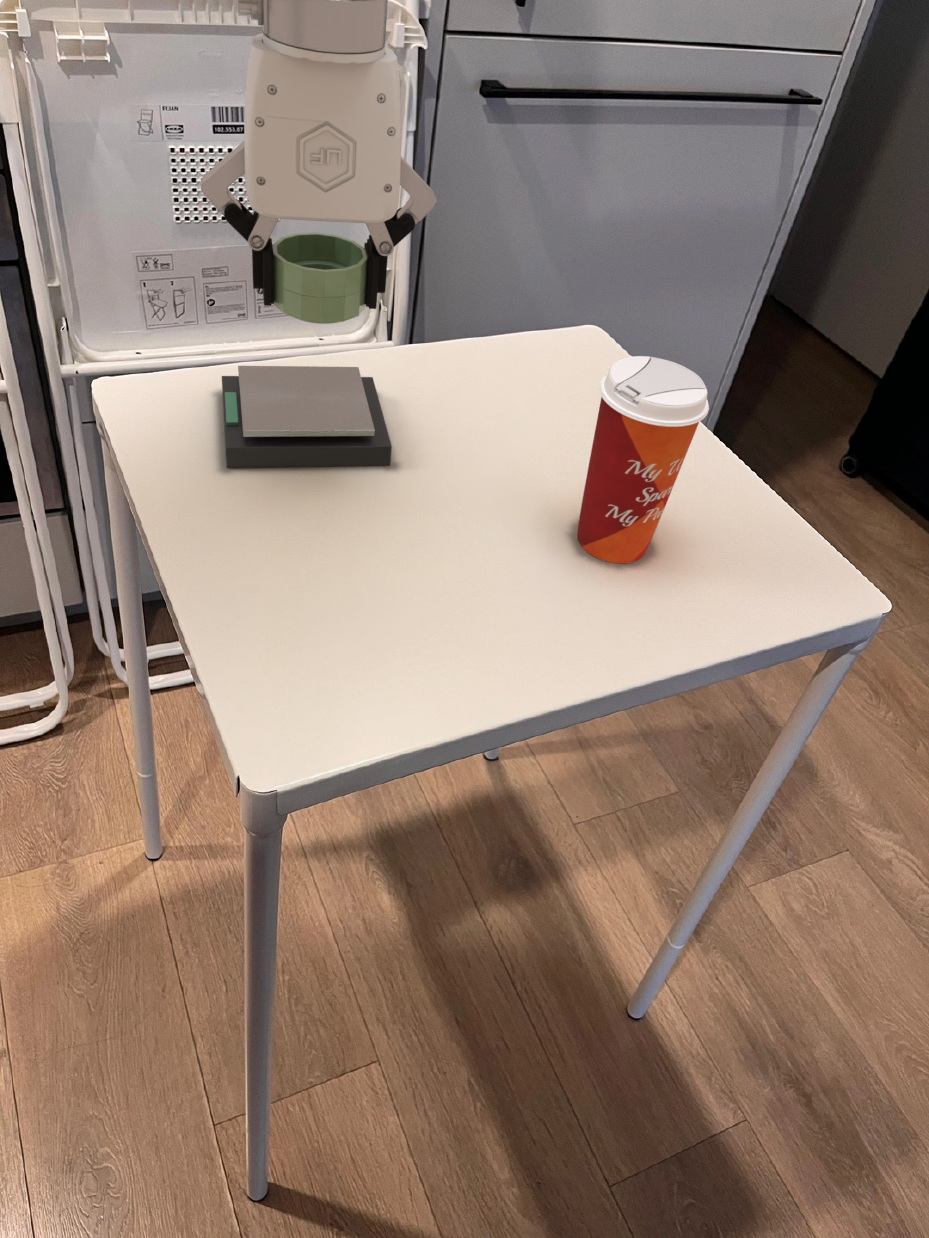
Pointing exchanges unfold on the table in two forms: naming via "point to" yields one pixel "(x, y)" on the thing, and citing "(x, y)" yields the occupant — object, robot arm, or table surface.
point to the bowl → (319, 277)
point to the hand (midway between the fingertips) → (319, 297)
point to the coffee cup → (637, 453)
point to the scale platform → (303, 401)
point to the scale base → (302, 439)
